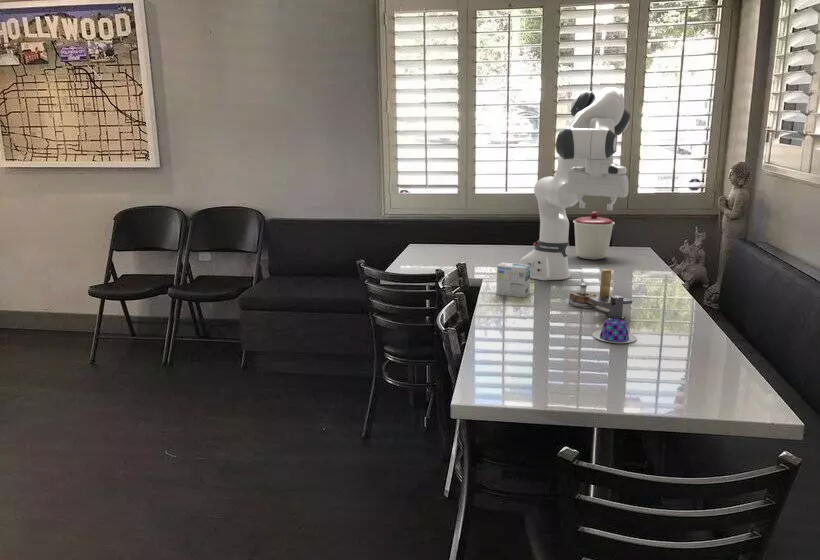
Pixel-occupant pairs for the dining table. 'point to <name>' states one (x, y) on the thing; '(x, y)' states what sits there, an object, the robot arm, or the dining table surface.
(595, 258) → the canister
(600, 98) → the robot arm
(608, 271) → the link
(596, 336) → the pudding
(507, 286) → the light bulb box
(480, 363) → the dining table surface
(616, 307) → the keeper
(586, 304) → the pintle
